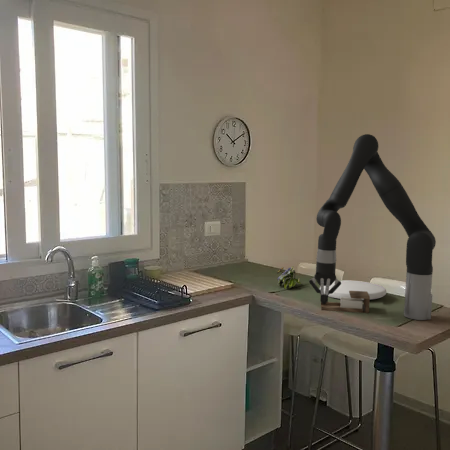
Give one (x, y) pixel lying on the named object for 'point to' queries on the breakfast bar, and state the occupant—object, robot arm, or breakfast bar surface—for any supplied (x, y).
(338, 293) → the plate
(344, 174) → the robot arm
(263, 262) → the breakfast bar surface
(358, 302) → the white rectangular block
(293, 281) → the passion flower
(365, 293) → the dock
